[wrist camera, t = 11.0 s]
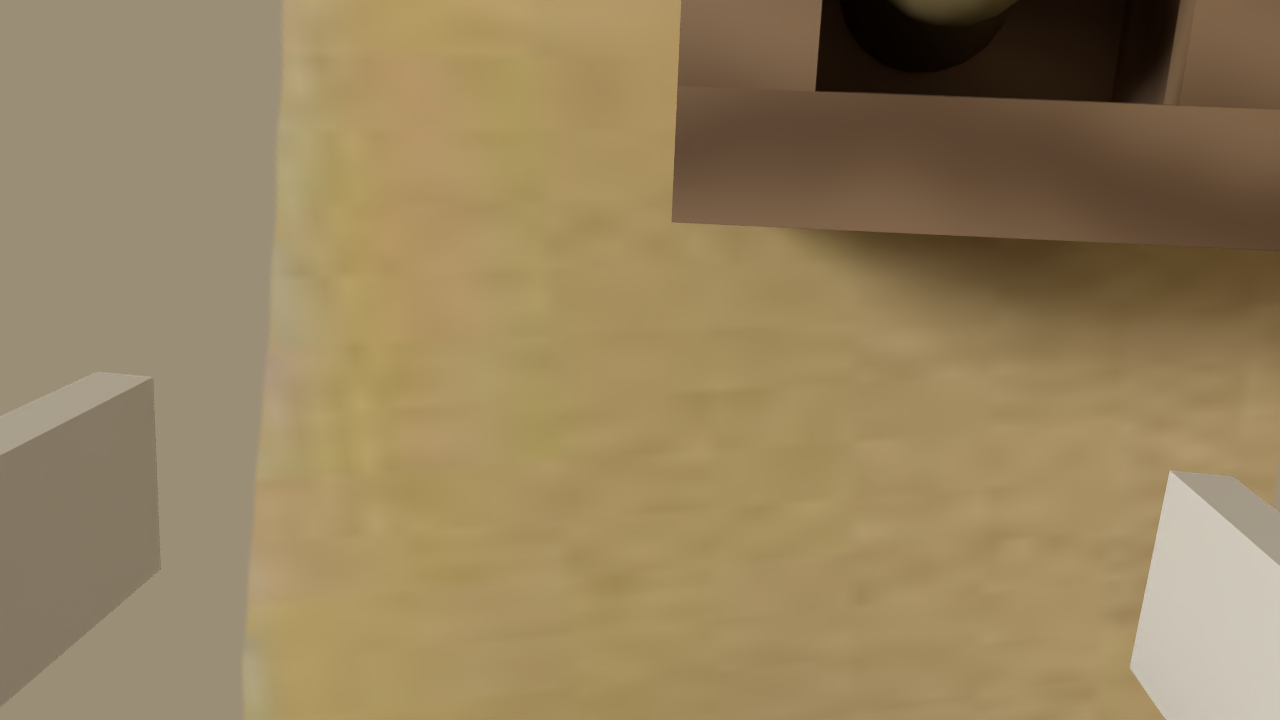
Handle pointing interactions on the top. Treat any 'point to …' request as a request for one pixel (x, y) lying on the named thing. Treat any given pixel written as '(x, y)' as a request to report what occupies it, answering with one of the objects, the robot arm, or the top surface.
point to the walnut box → (988, 125)
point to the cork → (924, 30)
